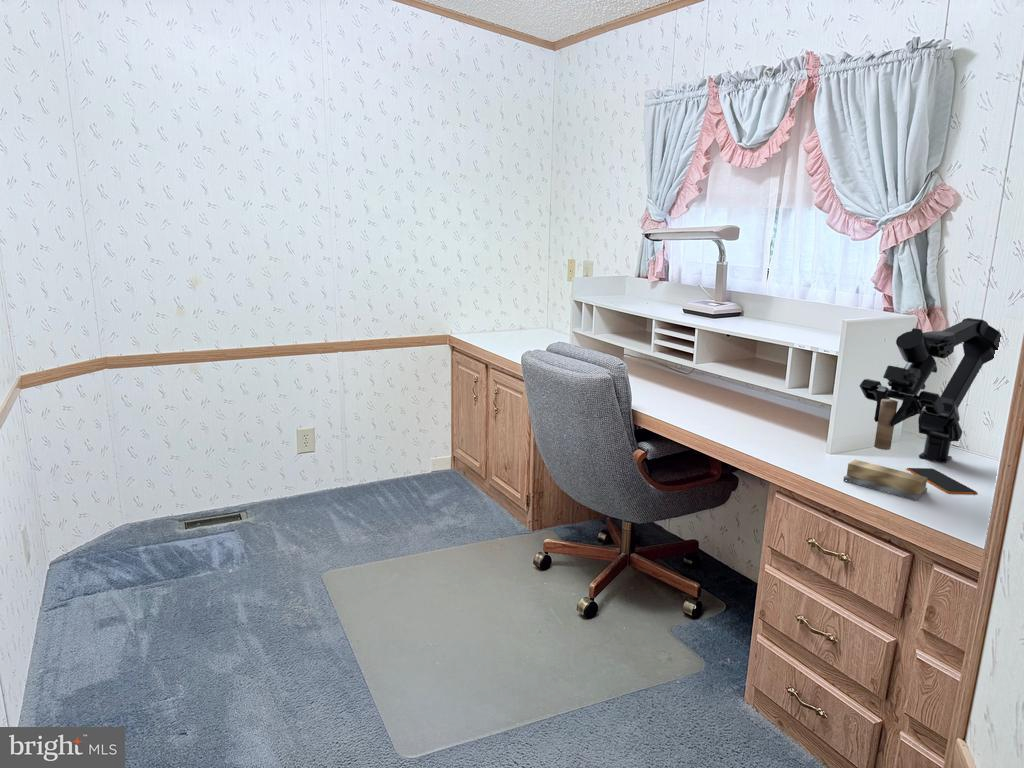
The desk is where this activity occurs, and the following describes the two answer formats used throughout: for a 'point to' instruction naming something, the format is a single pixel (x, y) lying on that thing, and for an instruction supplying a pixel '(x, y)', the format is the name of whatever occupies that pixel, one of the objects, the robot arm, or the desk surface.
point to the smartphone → (942, 481)
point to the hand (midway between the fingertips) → (883, 422)
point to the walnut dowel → (885, 424)
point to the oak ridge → (886, 479)
